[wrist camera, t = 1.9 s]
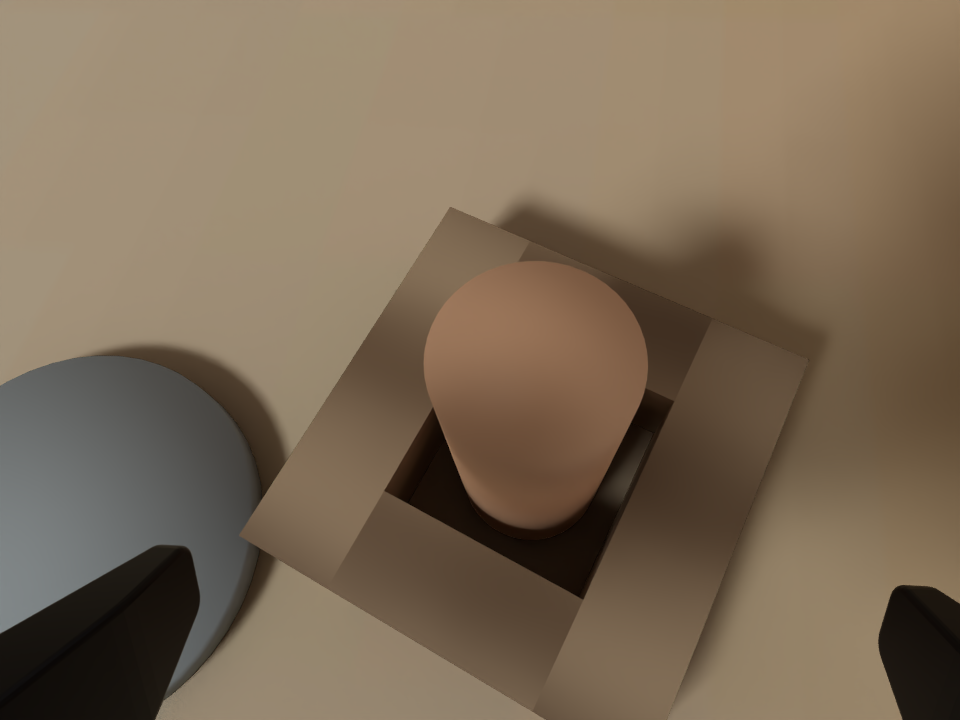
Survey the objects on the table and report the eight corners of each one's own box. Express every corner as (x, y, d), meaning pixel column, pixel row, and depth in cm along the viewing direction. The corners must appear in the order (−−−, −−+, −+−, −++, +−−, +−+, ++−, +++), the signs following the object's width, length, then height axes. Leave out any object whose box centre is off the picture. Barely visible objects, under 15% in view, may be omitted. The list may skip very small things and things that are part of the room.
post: (561, 565, 19) (588, 510, 11) (439, 499, 20) (382, 404, 12) (618, 444, 21) (683, 313, 12) (502, 387, 22) (488, 230, 13)
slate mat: (102, 832, 18) (79, 842, 17) (-180, 616, 20) (-213, 615, 19) (332, 460, 21) (324, 452, 20) (67, 315, 24) (48, 302, 23)
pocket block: (624, 756, 18) (643, 778, 15) (277, 549, 20) (238, 535, 17) (771, 396, 21) (809, 360, 18) (458, 257, 23) (450, 206, 21)
